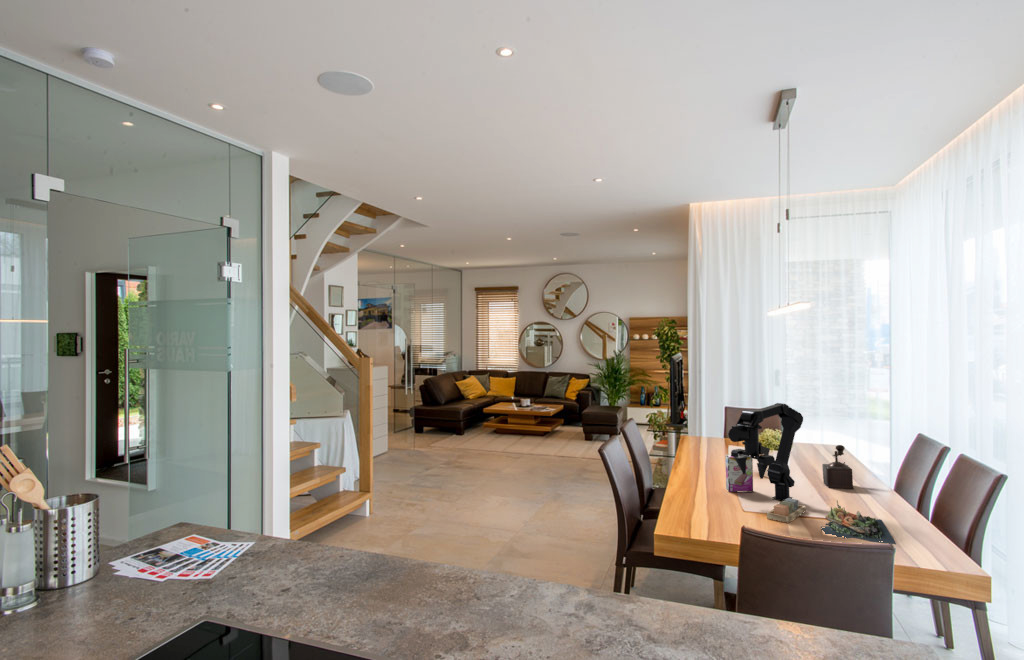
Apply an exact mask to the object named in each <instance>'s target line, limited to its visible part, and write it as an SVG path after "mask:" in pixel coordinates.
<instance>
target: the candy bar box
mask: <svg viewBox="0 0 1024 660" xmlns="http://www.w3.org/2000/svg"><path fill="white" fill-rule="evenodd" d="M724 459H725V489H727V490H728V491H729V492H728V491H727V490H726V491H727V492H728V493H738V492H737V491H753V492H754V474H753V473H754V470H753V469H754V468H753V467H754V466H753V463H754V462H753V460H754V459H753V458H747V460H746V474H743V473H742V471H741V469H740V467H739V465H738V464H737V462H736V460H735V459H733V456H731V454H725V458H724Z"/></svg>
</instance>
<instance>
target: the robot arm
mask: <svg viewBox="0 0 1024 660" xmlns="http://www.w3.org/2000/svg"><path fill="white" fill-rule="evenodd" d="M773 416H774V417H775V416H778V417H779V419H780V424H781V427H782V433H781V438H780V441H779V444H778V449H777V452H776V457H774V456H773V455H770V450H771V448H770V447H766V446H763V444H762V442H761V441H759V440H760V437H759V430H762V429H763V426H761V425H760V424H761V423H763V422H764V420H765V419H768V418H771V417H773ZM803 422H804V416H803V415H802V413H801V412H798V410H796V409H794V408H792V407H790V406H789V405H788V404H786V403H781V402H780V403H779V402H777V403H774V404H771V405H769V406H766V407H762V408H759V409H744V410H742V411H741V414H740V416H739V418H738V420H737V422H736V423H735V425H732V426H731V428H730V429H729V431H728V435H727V436H728V438H729V441H731V442H733V443H739V442H742V445H743V446H744V448H743V449H742V448H735V449H731V451H730V455H731V456H733V459H735V460H736V462H737V464H738V465H739V467H740V469H741V471H742V473H743V474H746V460H747V458H752V459H753V460H756V461H757V463H756V465H757V466H756V467H757V470H758V474H759V475H758V477H759V478H760V480H762V479H764V476H765V473H766V472H767V477H768V480H769V483H770V484H774V496H773V497H772V498H774V499H773V500H777V499H780V500H779V501H782V500H785V499H787V498H791V499H792V498H793V499H794V497H793V496H790V488H793V487H794V486H795V484H796V483H795V482H796V481H795V480H794V479H793V478H792V477H791V475H790V474H791V470H790V467H789V460H790V457H791V452H792V447H793V443H794V440H795V435H796V433H797V432H798V430H800V429H801V428H802V425H803Z"/></svg>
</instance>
